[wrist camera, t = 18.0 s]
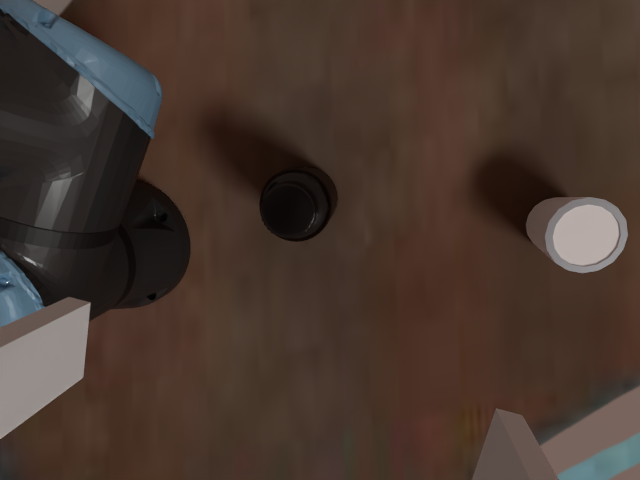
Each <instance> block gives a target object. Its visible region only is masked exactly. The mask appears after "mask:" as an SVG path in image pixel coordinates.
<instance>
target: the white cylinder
mask: <svg viewBox="0 0 640 480" xmlns="http://www.w3.org/2000/svg"><path fill="white" fill-rule="evenodd" d="M526 230H527V235H528V237H529V238H530V240H531V241H532V243H533V244H534V245H536V246H537V247H538V248H539V249H540V250H541V251H542V252H544V253H545V254H546V255H547V256H548V257H549V258H550V259H552V260H553V261H554V262H555V263H557V264H558V265H560V266H561V267H563V268H565V269H566V270H568V271H574V272H579V273H586V272H592V271H597V270H600V269H602V268H604V267H605V266H607V265H609V264H611V263H612V262H613V261H614V260H615V259H616V258H617V257H618V255H619V254H620V253H621V252H622V251H623V249H624V246H625V243H626V239H627V236H628V233H627V225H626V220H625V218H624V217H623V215H622V214H621V212H620V210H619V209H618V208H617V207H616V206H614V205H612V204H611V203H609V202H608V201H606V200H603V199H597V198H591V197H555V198H551V199H546V200H543V201H542V202H540V203H539V204H537V205H536V206H534V208H533V209H532V210H531V212H530V213H529V214H528V218H527V222H526Z"/></svg>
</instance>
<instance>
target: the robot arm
mask: <svg viewBox="0 0 640 480" xmlns="http://www.w3.org/2000/svg"><path fill="white" fill-rule="evenodd" d="M162 96H163V93H162V88H161V85H160V83H159V81H158V79H157V78H156V77H155V76H154V74H153V73H151V72H150V71H149V70H147V69H146V68H144V67H143V66H141V65H140V64H138V63H137V62H135V61H134V60H132V59H130V58H129V57H127V56H125V55H124V54H122V53H121V52H119V51H117V50H116V49H114V48H112V47H111V46H109V45H107V44H106V43H104V42H102V41H101V40H99V39H97V38H96V37H94V36H92V35H91V34H89V33H87V32H86V31H84V30H82V29H81V28H79V27H77V26H75V25H74V24H72V23H70V22H68V21H67V20H65V19H63V18H61V17H59V16H57V15H56V14H54V13H53V12H51V11H49V10H47V9H46V8H44V7H42V6H40V5H39V4H37V3H36V2H34V1H33V0H0V439H1V438H2V437H4V436H5V435H6V434H8V433H9V432H10V431H12V430H13V429H14V428H16V427H17V426H19V425H20V424H21V423H23V422H24V421H25V420H27V419H28V418H29V417H31V416H32V415H33V414H35V413H36V412H37V411H39V410H40V409H41V408H43V407H44V406H45V405H47V404H48V403H50V402H51V401H52V400H54V399H55V398H56V397H58V396H59V395H60V394H62V393H63V392H64V391H66V390H67V389H68V388H70V387H71V386H72V385H74V384H75V383H76V382H78V381H79V380H81V379H82V378H83V373H84V363H85V353H86V343H87V333H88V323H89V321H91V320H93V319H94V318H96V317H98V316H100V315H101V314H103V313H105V312H106V311H108V310H110V309H124V308H136V307H141V306H145V305H148V304H150V303H153V302H155V301H157V300H158V299H160V298H161V297H163V296H165V295H166V294H168V293H169V292H170V291H172V290H173V289H174V288H175V287H176V286H177V285H178V283H179V282H180V281H181V279H182V277H183V276H184V274H185V272H186V269H187V266H188V263H189V258H190V238H189V233H188V229H187V226H186V223H185V221H184V218H183V216H182V215H181V213H180V211H179V210H178V208H177V207H176V205H175V204H174V203H173V202H172V201H171V200H170V199H169V198H168V197H167V196H166V195H165V194H164V193H163V192H161V191H160V190H158V189H157V188H155V187H153V186H151V185H149V184H147V183H144V182H141V181H137V180H136V179H137V177H138V174H139V171H140V168H141V165H142V162H143V160H144V157H145V154H146V151H147V148H148V146H149V143H150V140H151V139H153V138H154V136H155V133H154V131H153V129H154V126H155V122H156V119H157V116H158V112H159V109H160V105H161V102H162ZM472 480H559V479H558V477H557V476H556V474H555V472H554V470H553V469H552V467H551V465H550V464H549V462H548V460H547V458H546V457H545V455H544V453H543V451H542V449H541V448H540V446H539V444H538V442H537V441H536V439H535V437H534V435H533V434H532V432H531V430H530V428H529V427H528V425H527V423H526V421H525V420H524V418H523V416H522V415H519V414H515V413H511V412H508V411H504V410H500V409H496V410H495V413H494V416H493V419H492V422H491V425H490V428H489V431H488V434H487V437H486V440H485V443H484V446H483V449H482V452H481V455H480V458H479V461H478V464H477V467H476V470H475V473H474V475H473V478H472Z"/></svg>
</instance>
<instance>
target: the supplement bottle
mask: <svg viewBox="0 0 640 480" xmlns="http://www.w3.org/2000/svg"><path fill="white" fill-rule="evenodd" d="M337 201H338V195H337V190H336V187H335V184H334V182H333V181H332V179H331V178H330V177H329V176H328V175H327V174H326V173H325V172H323V171H321V170H319V169H317V168H314V167H299V168H293V169H288V170H284V171H282V172H279V173H278V174H276V175H274V176H273V177H272V178H271V179H270V180H269V181H268V182H267V183H266V185H265V186H264V188H263V190H262V193H261V196H260V203H259V205H260V213H261V217H262V221H263V222H264V225H265V226H266V227H267V229H268V230H270V231H271V233H273V234H275V235H276V236H278V237H280V238H282V239H284V240H288V241H294V242H298V241H305V240H308V239H311V238H313V237H314V236H316V235H317V234H319V233H320V232H321V231H322V230H323V229H324V228H325V226H326V225H327V223H328V222H329V220H330V218H331V217H332V215H333V213H334V212H335V209H336V206H337Z"/></svg>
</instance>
